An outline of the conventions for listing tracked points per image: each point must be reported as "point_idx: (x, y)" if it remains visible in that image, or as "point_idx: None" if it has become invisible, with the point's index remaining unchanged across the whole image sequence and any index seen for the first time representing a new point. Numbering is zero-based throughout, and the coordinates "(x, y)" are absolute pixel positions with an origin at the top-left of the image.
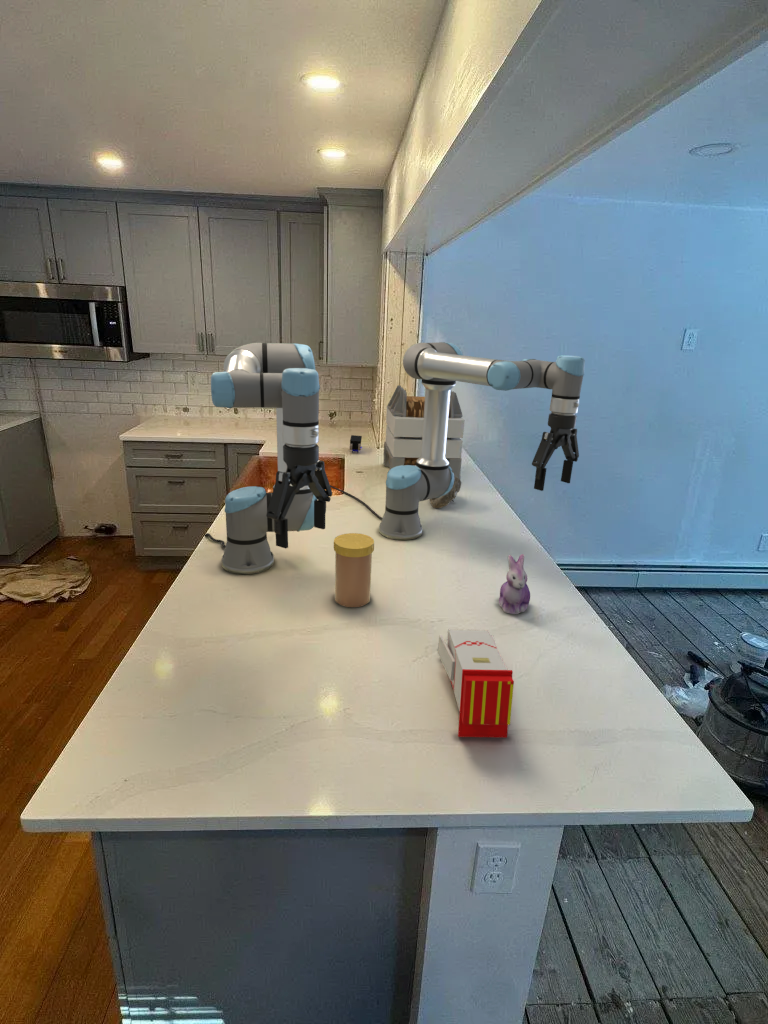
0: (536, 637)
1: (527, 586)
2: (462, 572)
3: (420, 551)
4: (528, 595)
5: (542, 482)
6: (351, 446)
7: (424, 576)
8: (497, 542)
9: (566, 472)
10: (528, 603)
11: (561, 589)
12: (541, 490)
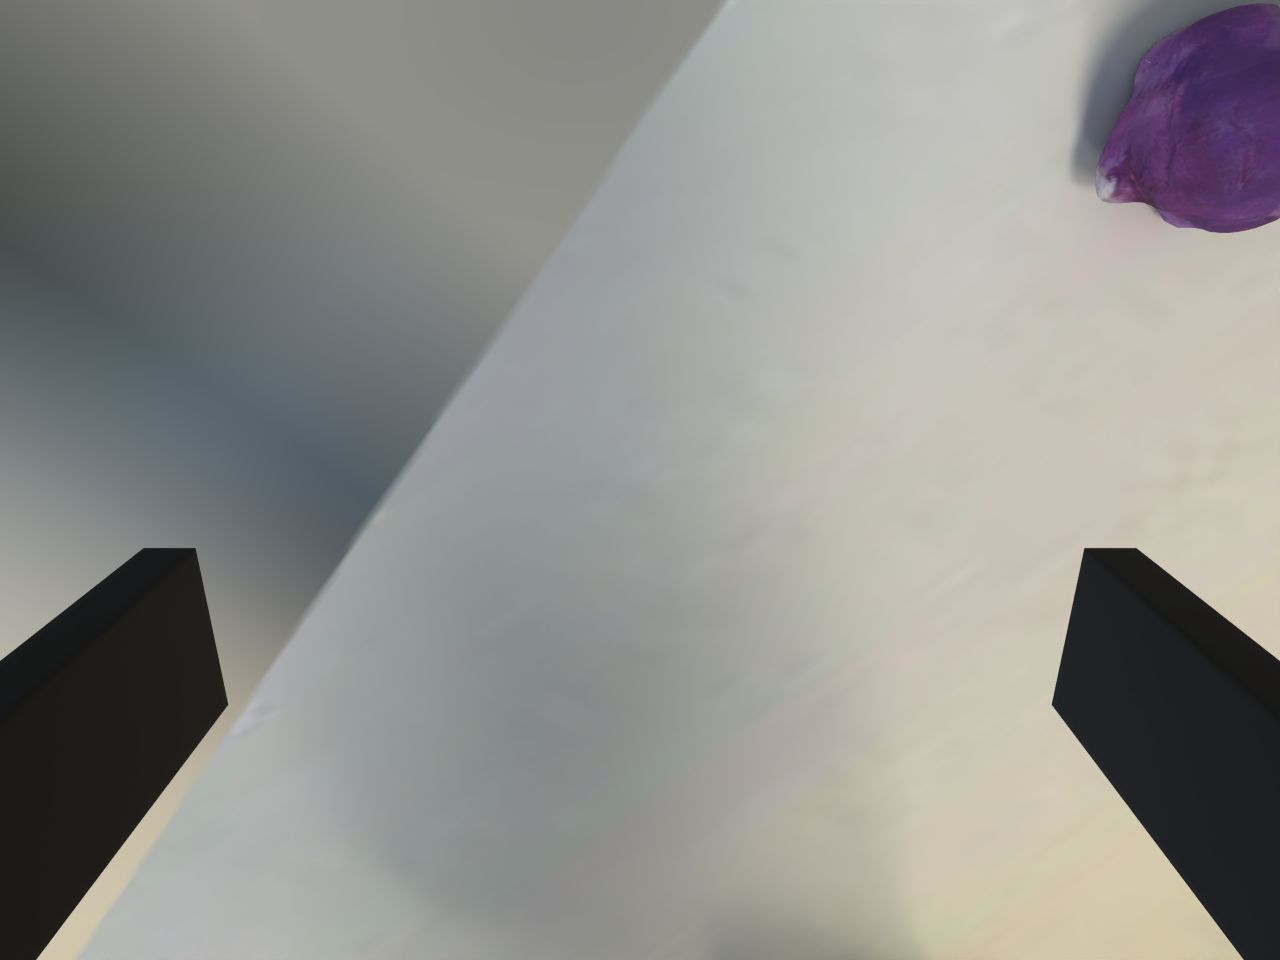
0: None
1: (1232, 56)
2: (1015, 582)
3: (957, 861)
4: (1265, 6)
5: (1245, 653)
6: None
7: None
8: (489, 724)
9: (84, 758)
10: (1172, 34)
11: (742, 54)
12: (1141, 558)
